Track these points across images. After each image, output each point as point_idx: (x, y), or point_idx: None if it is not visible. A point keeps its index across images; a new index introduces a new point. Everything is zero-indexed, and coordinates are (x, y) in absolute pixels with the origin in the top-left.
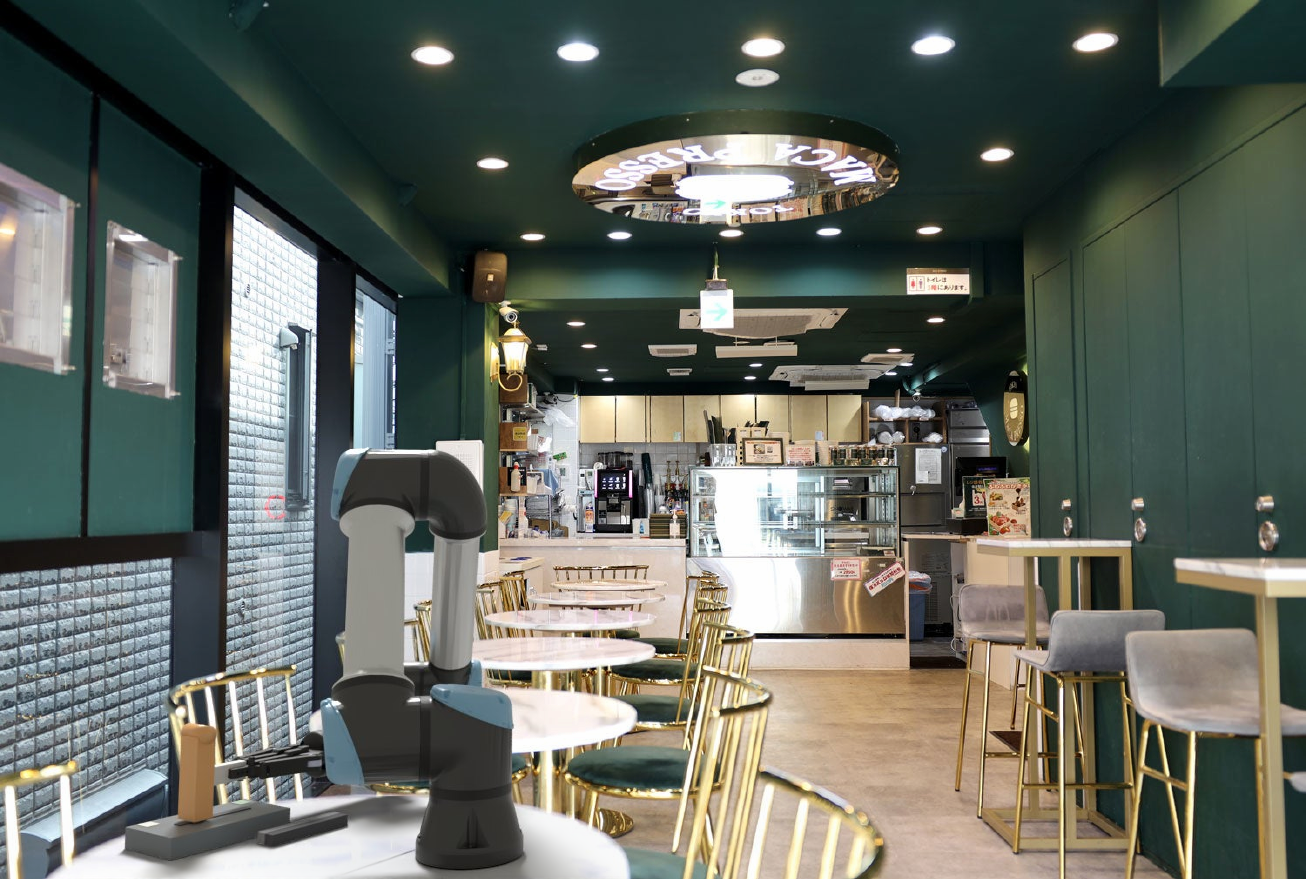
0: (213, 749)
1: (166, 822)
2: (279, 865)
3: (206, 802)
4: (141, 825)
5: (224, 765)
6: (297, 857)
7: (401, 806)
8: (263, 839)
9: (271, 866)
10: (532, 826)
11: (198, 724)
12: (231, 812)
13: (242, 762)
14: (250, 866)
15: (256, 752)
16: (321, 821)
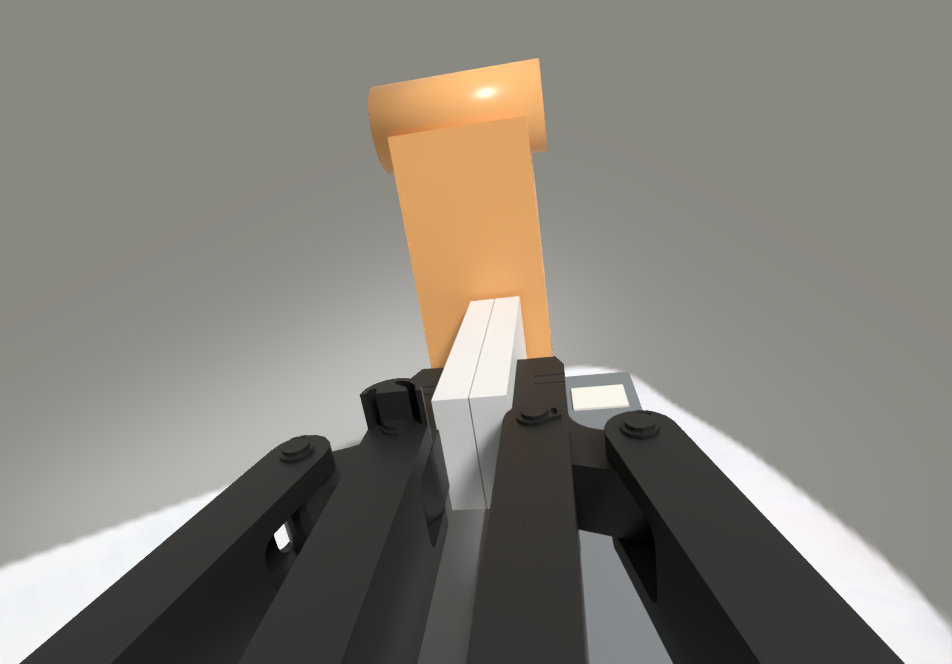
0: (404, 209)
1: (580, 424)
2: (103, 546)
3: None
4: (600, 386)
5: (460, 334)
6: (54, 614)
7: None
8: None
9: (126, 533)
10: None
11: (462, 72)
12: (478, 577)
13: (439, 391)
14: (191, 509)
15: (824, 649)
16: None
